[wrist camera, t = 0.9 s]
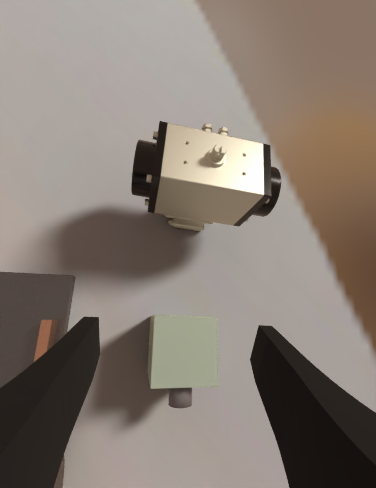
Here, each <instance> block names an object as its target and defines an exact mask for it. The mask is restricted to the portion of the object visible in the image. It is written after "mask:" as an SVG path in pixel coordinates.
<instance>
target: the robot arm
mask: <svg viewBox="0 0 376 488" xmlns="http://www.w3.org/2000/svg"><path fill="white" fill-rule="evenodd" d="M99 355H100V343H99V317H83V318H82V319H81V320H80V321H79V322H78V323H77V324H76V325H75V326H74V327H73V328H72V329H71V330H69V331H68V332H67V333H66V334H65V335H64V336H63V337H62V338H61V339H60V340H59V341H58V342H57V343H55V344H54V345H53V346H52V347H51V348H50V349H49V350H48V351H47V352H45V353H44V354H43V355H42V356H41V357H39V358H38V359H37V360H36V361H35V362H33V363H32V364H31V365H30V366H29V367H27V368H26V369H25V370H24V371H22V372H21V373H20V374H18V375H17V376H16V377H15V378H13V379H12V380H11V381H9V382H8V383H6V384H5V385H4V386H2V387H1V388H0V488H54V485H55V482H56V478H57V475H58V472H59V469H60V465H61V462H62V459H63V456H64V452H65V449H66V446H67V443H68V441H69V438H70V435H71V432H72V430H73V427H74V425H75V422H76V420H77V417H78V415H79V412H80V410H81V407H82V405H83V402H84V400H85V397H86V395H87V392H88V390H89V387H90V385H91V382H92V380H93V377H94V373H95V370H96V366H97V363H98V359H99ZM250 361H251V365H252V370H253V374H254V378H255V382H256V385H257V388H258V391H259V394H260V396H261V399H262V402H263V405H264V407H265V410H266V413H267V416H268V418H269V421H270V424H271V427H272V429H273V432H274V435H275V438H276V441H277V444H278V447H279V450H280V454H281V457H282V461H283V465H284V468H285V472H286V476H287V479H288V483H289V487H290V488H376V413H375V412H374V411H372V410H371V409H369V408H368V407H366V406H365V405H363V404H362V403H361V402H359V401H358V400H357V399H355V398H354V397H353V396H351V395H350V394H349V393H347V392H346V391H345V390H343V389H342V388H341V387H339V386H338V385H337V384H336V383H334V382H333V381H332V380H331V379H329V378H328V377H327V376H326V375H325V374H324V373H322V372H321V371H320V370H319V369H318V368H316V367H315V366H314V365H313V364H312V363H311V362H310V361H309V360H307V359H306V358H305V357H304V356H303V355H302V354H301V353H300V352H299V351H298V350H297V349H296V348H295V347H294V346H292V345H291V344H290V343H289V342H288V341H287V340H286V339H285V338H284V337H283V336H282V335H281V334H280V333H279V332H278V331H277V330H276V329H274V328H273V327H272V326H260V325H259V327H258V331H257V335H256V339H255V342H254V346H253V350H252V354H251V358H250Z"/></svg>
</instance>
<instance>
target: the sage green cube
mask: <svg viewBox="0 0 376 488" xmlns="http://www.w3.org/2000/svg"><path fill="white" fill-rule="evenodd" d="M147 374H148V379H149V384H150V389H158V388H169V406H171V407H174V408H187V407H190V406H191V405H192V387H218V333H217V317H214V316H170V315H153V316H150V332H149V349H148V365H147Z"/></svg>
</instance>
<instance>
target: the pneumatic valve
mask: <svg viewBox="0 0 376 488" xmlns="http://www.w3.org/2000/svg"><path fill="white" fill-rule="evenodd" d="M167 124H168V125H167ZM218 133H219V134H217V133H212V126H211V125H210V124H204V125H203V127H202V130H198V129H194V128H189V127H185V126H180V125H175V124H171V123H166V122H162V121H160V123H159V130H158V132H155V131H154V134H153V139H155V140H157V143H153V142H148V141H143V140H138V142H137V146H136V151H135V157H134V164H133V173H132V194H133V195H137V196H143V197H148V198H149V199H145V205H148V212H152V213H158V214H164V215H165V217H169V218H173V220H170V221H169V222H168V223H169V225H172V227H175V228H181V229H188V230H195V231H201V230H203V229H204V223H208V224H212V223H213V222H215V223H221V224H228V225H234V226H240V225H241V224H242V223H243V222H244V221H248V218H249V217H250V216H251V215H256V216H262V217H263V216H266V215H268V214H269V213H270V212H271V211H272V209H273V208H274V206H275V204H276V202H277V200H278V197H279V193H280V188H281V176H280V172H279V170H278V169H277V168H275V167H271V158H270V145H267V144H262V143H258V142H253V141H249V140H244V139H239V138H235V137H230V136H228V129H227V128H225V127H222V128H220V129H219V131H218ZM154 211H155V212H154Z"/></svg>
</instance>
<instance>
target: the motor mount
mask: <svg viewBox="0 0 376 488" xmlns="http://www.w3.org/2000/svg"><path fill="white" fill-rule="evenodd" d="M74 282H75V277H74V276H73V275H52V274H32V273H12V272H0V388H1V387H2V386H4V385H5V384H6V383H8V382H9V381H11V380H12V379H13V378H15V377H16V376H17V375H18V374H20V373H21V372H22V371H24V370H25V369H26V368H27V367H29V366H30V365H31V364H32V363H33V362H35V361H36V360H37V359H38V358H39V357H41V356H42V355H43V354H44V353H45V352H47V351H48V350H49V349H50V348H51V347H52V346H53V345H54V344H55V343H57V342H58V341H59V340H60V339H61V338H62V337H63V336H64V335H65V334H66V333H67V328H68V321H69V315H70V308H71V302H72V295H73V289H74ZM63 477H64V456H63V459H62V462H61V465H60V469H59V472H58V475H57V478H56V482H55V485H54V488H62V485H63Z"/></svg>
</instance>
